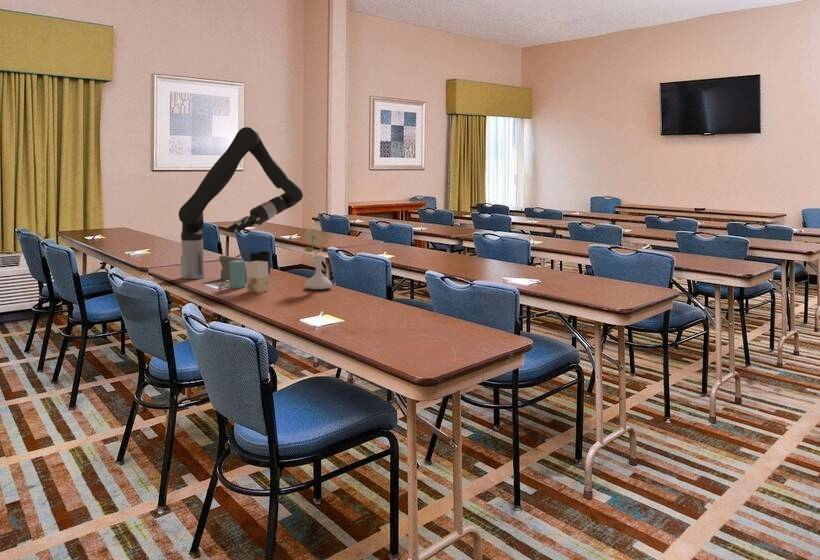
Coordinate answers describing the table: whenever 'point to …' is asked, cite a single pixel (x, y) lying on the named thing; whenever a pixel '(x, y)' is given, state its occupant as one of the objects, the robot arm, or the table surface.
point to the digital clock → (225, 265)
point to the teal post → (237, 274)
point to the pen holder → (261, 257)
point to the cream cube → (257, 269)
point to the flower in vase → (316, 262)
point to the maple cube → (257, 284)
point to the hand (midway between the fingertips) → (232, 229)
